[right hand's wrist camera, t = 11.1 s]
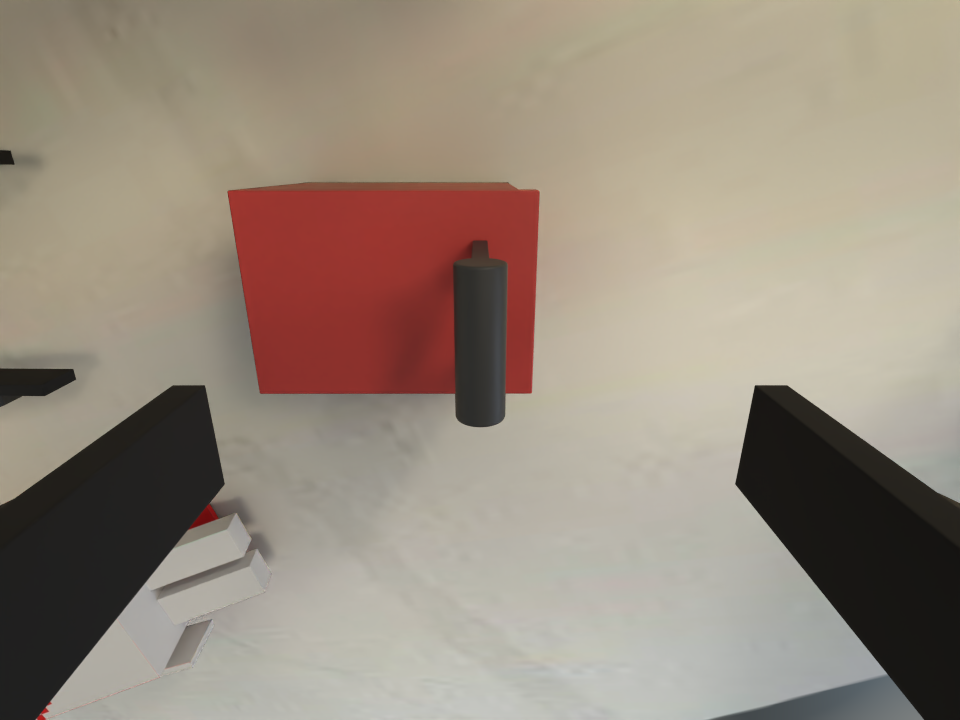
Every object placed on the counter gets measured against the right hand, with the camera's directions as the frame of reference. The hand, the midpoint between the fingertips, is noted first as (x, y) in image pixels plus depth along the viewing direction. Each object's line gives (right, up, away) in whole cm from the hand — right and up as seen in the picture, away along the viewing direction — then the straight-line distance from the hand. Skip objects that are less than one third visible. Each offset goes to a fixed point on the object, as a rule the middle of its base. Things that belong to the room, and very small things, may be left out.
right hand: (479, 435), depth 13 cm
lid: (-4, +5, +14) cm, 16 cm away
